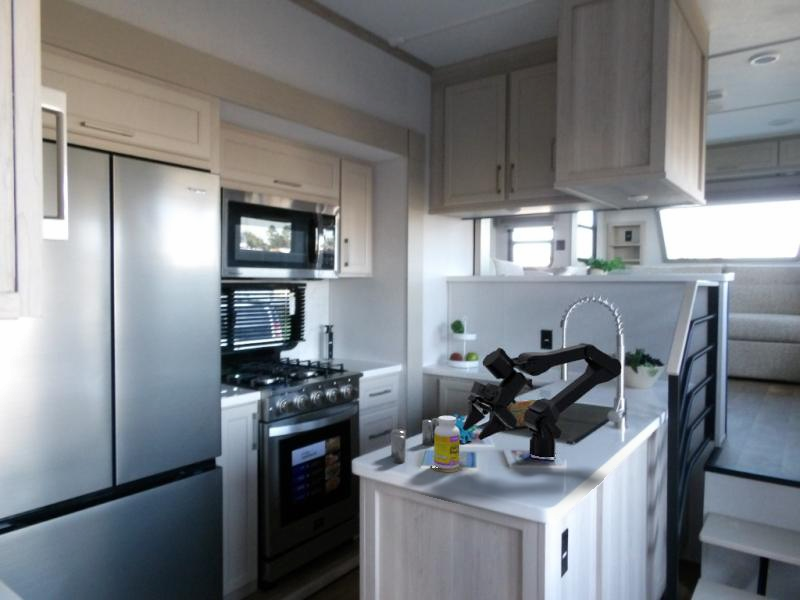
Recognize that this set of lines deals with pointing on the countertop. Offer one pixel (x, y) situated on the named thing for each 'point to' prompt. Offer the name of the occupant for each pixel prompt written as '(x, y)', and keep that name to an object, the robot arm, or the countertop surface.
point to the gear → (463, 433)
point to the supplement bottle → (446, 443)
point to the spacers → (400, 439)
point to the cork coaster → (447, 469)
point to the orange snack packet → (520, 410)
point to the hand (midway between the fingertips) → (471, 434)
